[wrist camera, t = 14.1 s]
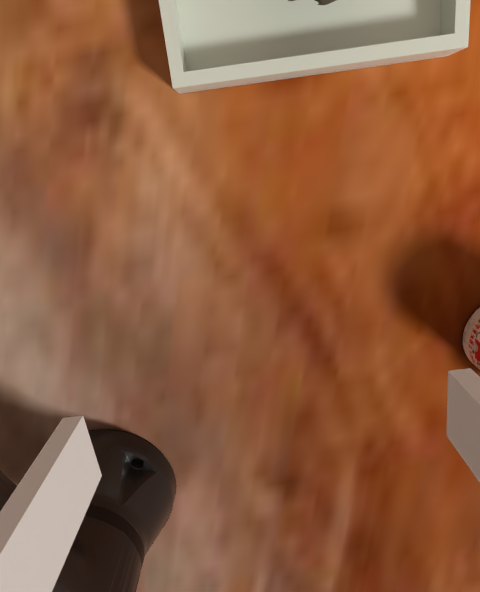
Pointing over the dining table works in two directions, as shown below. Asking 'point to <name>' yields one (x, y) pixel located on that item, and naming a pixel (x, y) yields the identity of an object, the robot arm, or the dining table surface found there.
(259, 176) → the dining table surface
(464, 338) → the teacup with lid
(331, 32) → the serving tray
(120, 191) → the dining table surface
